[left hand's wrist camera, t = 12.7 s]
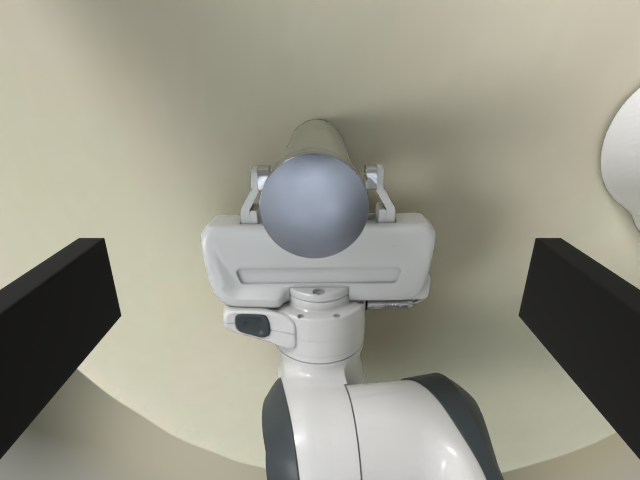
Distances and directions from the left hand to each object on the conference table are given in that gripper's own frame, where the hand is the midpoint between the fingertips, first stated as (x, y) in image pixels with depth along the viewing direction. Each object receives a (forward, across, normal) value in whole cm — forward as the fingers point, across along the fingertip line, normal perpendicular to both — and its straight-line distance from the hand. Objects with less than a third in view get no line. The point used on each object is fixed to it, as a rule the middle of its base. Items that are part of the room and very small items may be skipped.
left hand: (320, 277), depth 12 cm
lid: (+9, 0, 0) cm, 9 cm away
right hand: (+22, 0, +1) cm, 22 cm away
